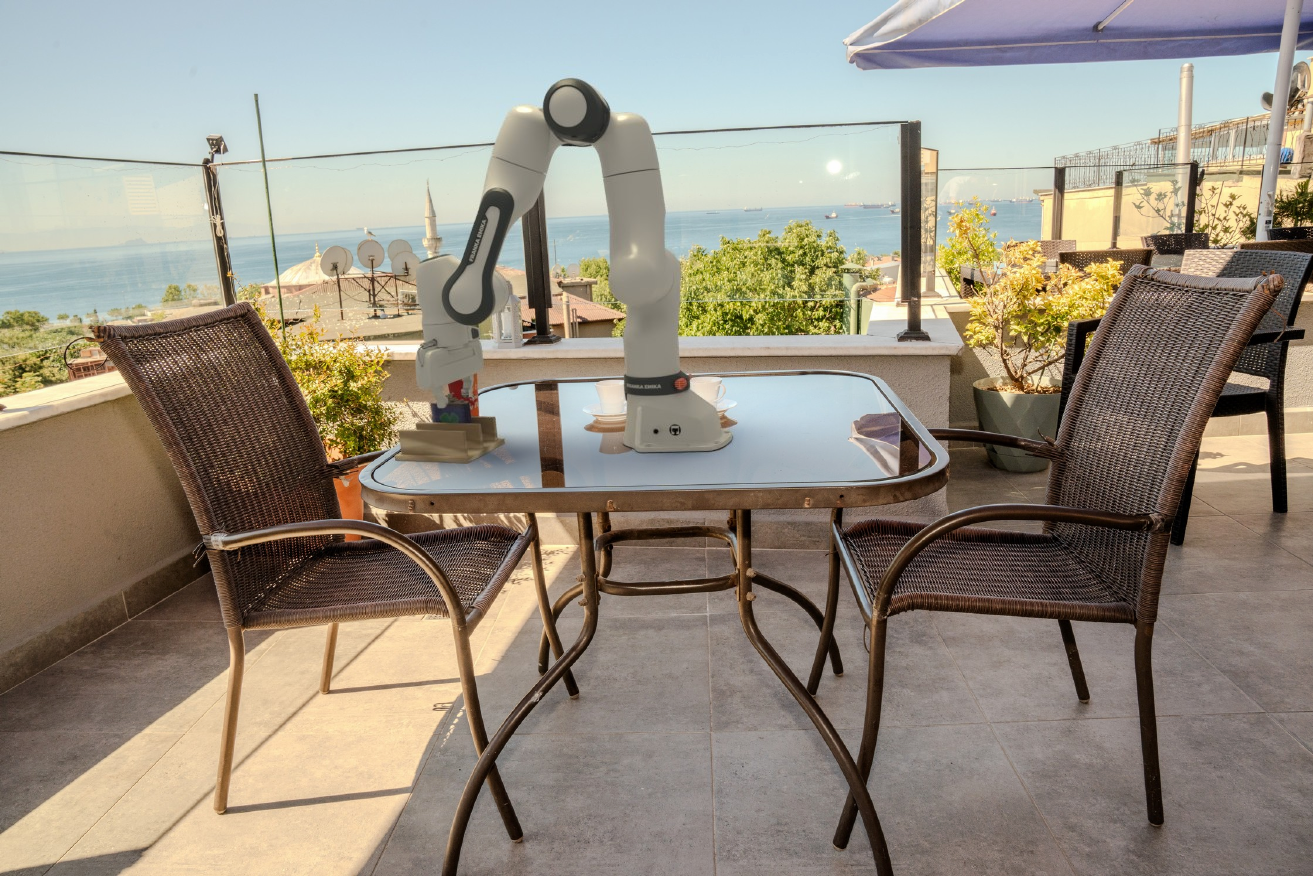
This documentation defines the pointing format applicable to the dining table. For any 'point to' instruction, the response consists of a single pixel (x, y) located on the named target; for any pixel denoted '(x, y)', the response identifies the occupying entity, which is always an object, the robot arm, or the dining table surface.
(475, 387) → the paper cup
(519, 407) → the dining table surface
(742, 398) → the dining table surface
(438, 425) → the rack
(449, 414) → the flask
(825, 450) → the dining table surface
